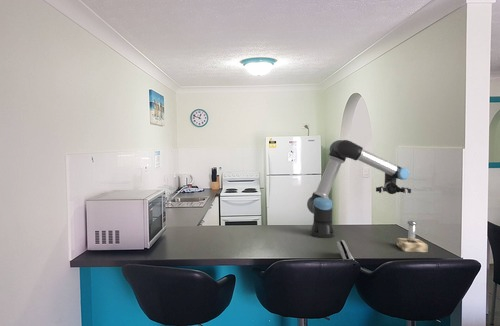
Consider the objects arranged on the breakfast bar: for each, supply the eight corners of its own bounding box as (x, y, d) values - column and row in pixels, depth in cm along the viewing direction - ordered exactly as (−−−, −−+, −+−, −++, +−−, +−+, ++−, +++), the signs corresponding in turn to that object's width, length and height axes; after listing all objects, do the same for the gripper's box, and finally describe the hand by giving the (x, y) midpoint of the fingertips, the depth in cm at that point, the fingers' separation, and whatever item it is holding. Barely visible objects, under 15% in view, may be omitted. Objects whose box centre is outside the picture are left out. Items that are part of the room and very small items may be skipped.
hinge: (356, 264, 155) (349, 245, 155) (346, 267, 156) (340, 248, 156) (349, 253, 172) (343, 236, 172) (341, 256, 172) (335, 238, 172)
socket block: (404, 251, 176) (405, 244, 176) (396, 244, 188) (396, 238, 188) (427, 252, 175) (427, 244, 175) (417, 245, 187) (418, 238, 187)
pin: (408, 249, 180) (409, 222, 179) (405, 247, 184) (406, 221, 184) (417, 249, 180) (418, 223, 179) (413, 247, 184) (414, 221, 183)
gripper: (411, 194, 212) (417, 199, 192) (371, 192, 220) (372, 196, 200) (412, 183, 211) (417, 186, 191) (371, 181, 220) (372, 184, 200)
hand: (394, 191), depth 196 cm, fingers open, 13 cm apart
